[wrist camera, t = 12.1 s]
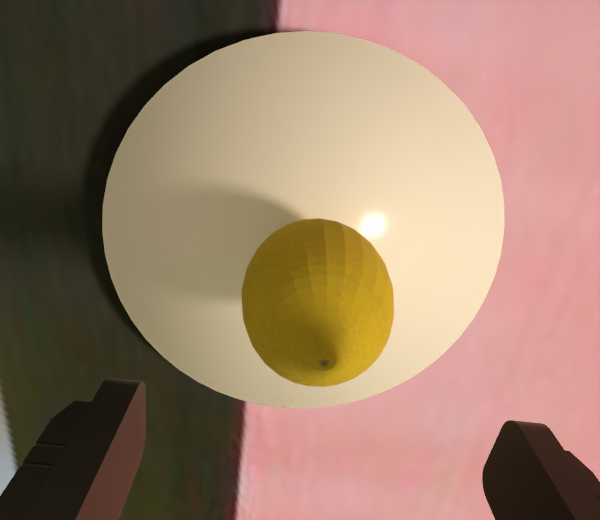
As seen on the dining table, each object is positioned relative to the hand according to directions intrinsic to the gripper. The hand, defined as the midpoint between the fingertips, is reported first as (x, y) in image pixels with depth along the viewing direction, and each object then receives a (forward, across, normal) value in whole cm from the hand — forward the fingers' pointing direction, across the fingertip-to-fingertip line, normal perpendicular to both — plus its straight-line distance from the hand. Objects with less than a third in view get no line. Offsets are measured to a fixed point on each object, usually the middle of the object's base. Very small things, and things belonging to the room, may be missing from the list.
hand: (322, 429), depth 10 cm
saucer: (+12, 0, +1) cm, 12 cm away
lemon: (+11, 0, +1) cm, 11 cm away
